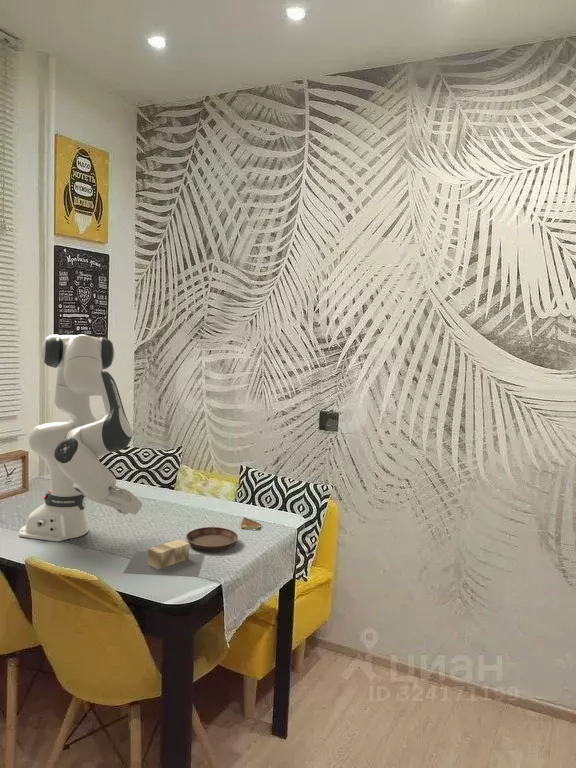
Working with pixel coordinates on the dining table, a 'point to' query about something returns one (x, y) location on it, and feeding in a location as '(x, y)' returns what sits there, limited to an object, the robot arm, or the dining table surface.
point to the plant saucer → (212, 538)
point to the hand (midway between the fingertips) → (124, 511)
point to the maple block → (168, 554)
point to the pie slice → (249, 524)
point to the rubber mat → (178, 569)
